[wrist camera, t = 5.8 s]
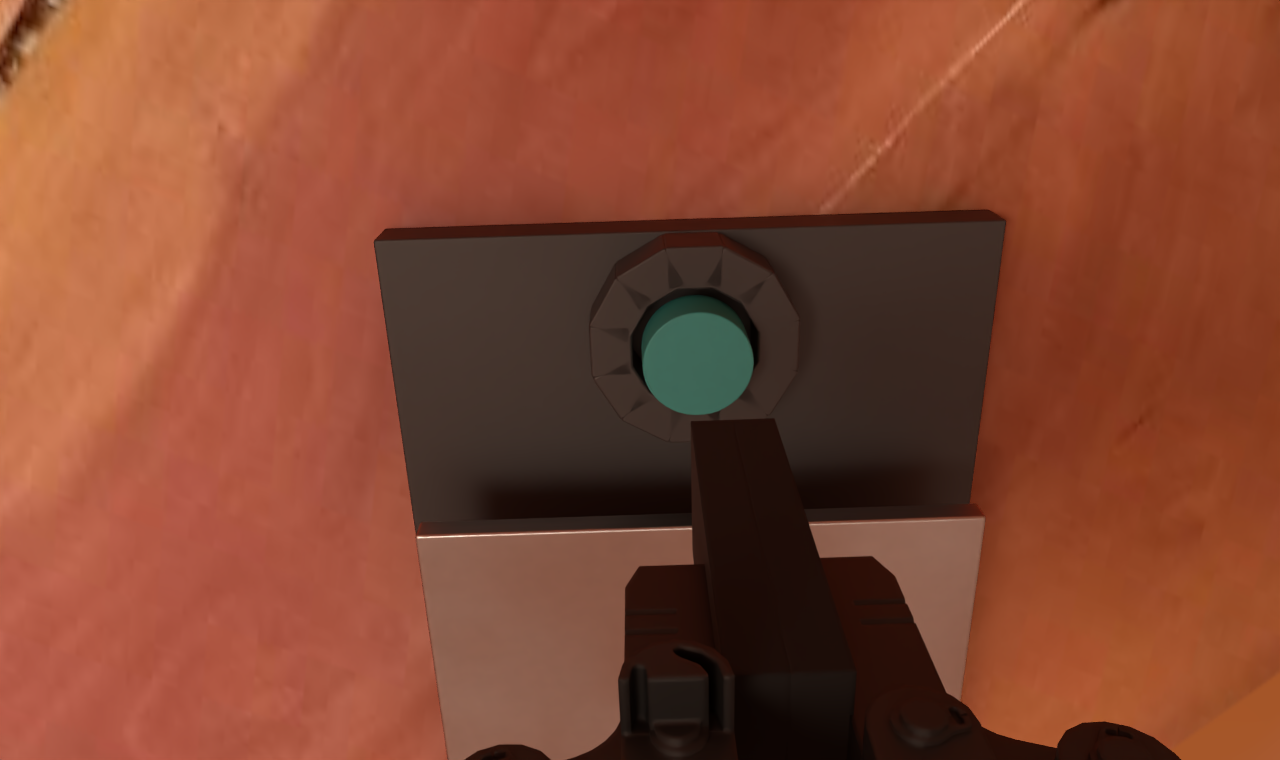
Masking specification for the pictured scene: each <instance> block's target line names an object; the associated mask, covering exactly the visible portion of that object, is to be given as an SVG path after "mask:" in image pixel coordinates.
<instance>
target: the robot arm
mask: <svg viewBox="0 0 1280 760" xmlns="http://www.w3.org/2000/svg"><path fill="white" fill-rule="evenodd" d="M691 488H692V551H693V560H694V564H689V565H660V566H639V567H638V569H637V570H636V572H635V573H634V575H633V576H632V578H631V579H630V581H629V582H628V584H627V585H626V587H625V643H624V663H623V664H622V667H621V671H620V674H619V677H618V691H619V708H620V722H619V724H618V726H617V728H616V730H615V731H614V732H613V733H612V734H611V735H610V736H609V737H608V739H607V740H606V741H604V742H603V743H601V744H600V745H599V746H597V747H596V748H594V749H593V750H591V751H588V752H586V753H584V754H581V755H579V756H576V757H573V758H570V759H567V760H1181V759H1180V758H1179V757H1178V756H1177V755H1176V754H1175V753H1174V752H1172V751H1171V750H1170V749H1168V748H1167V747H1166V746H1164V745H1163V744H1162V743H1160V742H1159V741H1158V740H1156V739H1155V738H1154V737H1151V736H1149V735H1147V734H1145V733H1142V732H1140V731H1138V730H1136V729H1133V728H1131V727H1129V726H1124V725H1119V724H1114V723H1109V722H1090V723H1081V724H1079V725H1077V726H1075V727H1073V728H1071V729H1069V730H1067V731H1066V732H1065V733H1064V735H1063V736H1062V738H1061V740H1060V741H1059V743H1058V746H1057V748H1053V747H1048V746H1044V745H1039V744H1034V743H1029V742H1025V741H1020V740H1015V739H1012V738H1009V737H1005V736H1002V735H998V734H996V733H994V732H991V731H989V730H987V729H985V728H983V727H982V726H981V724H980V722H979V721H978V719H977V718H976V717H975V715H974V714H973V713H972V711H971V710H970V709H969V707H967V706H966V705H965V704H963V703H962V702H960V701H959V700H957V699H956V698H955V697H953V696H952V695H950V694H947V693H946V691H945V688H944V686H943V684H942V682H941V679H940V677H939V675H938V672H937V670H936V668H935V666H934V663H933V661H932V659H931V657H930V654H929V652H928V650H927V648H926V645H925V643H924V641H923V638H922V636H921V634H920V632H919V629H918V627H917V625H916V623H914V618H913V616H912V613H911V611H910V609H909V607H908V604H906V603H905V598H904V595H903V593H902V591H901V589H900V586H899V584H898V582H897V579H896V577H895V575H893V574H892V573H891V572H890V571H889V570H888V569H887V568H885V567H884V566H883V565H882V564H881V563H880V562H879V561H877V560H876V559H875V558H874V557H873V556H856V557H827V558H820V557H819V553H818V550H817V547H816V544H815V541H814V538H813V535H812V532H811V529H810V526H809V523H808V520H807V517H806V513H805V510H804V507H803V504H802V501H801V498H800V495H799V492H798V489H797V486H796V483H795V480H794V477H793V473H792V470H791V467H790V464H789V461H788V458H787V455H786V452H785V449H784V446H783V443H782V440H781V437H780V433H779V430H778V427H777V424H776V421H775V418H766V419H738V420H709V421H691ZM464 760H551V759H550V758H548V757H547V756H546V755H545V754H544V753H543V752H542V751H540V750H537V749H534V748H531V747H528V746H525V745H522V744H499V745H496V746H493V747H489V748H486V749H482V750H479V751H477V752H475V753H474V754H472V755H471V756H469V757H468V758H466V759H464Z"/></svg>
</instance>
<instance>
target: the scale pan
mask: <svg viewBox="0 0 1280 760" xmlns="http://www.w3.org/2000/svg"><path fill="white" fill-rule="evenodd" d="M804 510H805V513H806V517H807V520H808V523H809V526H810V529H811V532H812V535H813V538H814V541H815V544H816V547H817V550H818V553H819V557H820V558H827V557H856V556H873V557H874V558H875V559H876V560H877V561H879V562H880V563H881V564H882V565H883V566H884V567H885V568H887V569H888V570H889V571H890V572H891V573H892V574H893V575H895V577H896V579H897V582H898V584H899V586H900V589H901V591H902V593H903V595H904V598H905V603H906V604H908V607H909V609H910V611H911V613H912V616H913V618H914V623H916V625H917V627H918V629H919V632H920V634H921V636H922V638H923V641H924V643H925V645H926V648H927V650H928V652H929V654H930V657H931V659H932V661H933V663H934V666H935V668H936V670H937V672H938V675H939V677H940V679H941V682H942V684H943V686H944V688H945V691H946V693H947V694H950V695H952V696H953V697H955V698H956V699H957V700H959V701H960V700H961V693H962V686H963V679H964V671H965V664H966V657H967V650H968V642H969V635H970V628H971V621H972V613H973V606H974V599H975V592H976V584H977V577H978V570H979V563H980V556H981V548H982V541H983V534H984V527H985V519H986V518H985V515H984V514H983V512H982V511H981V509H980V508H979V507H978V505H977V504H946V505H916V506H886V507H857V508H827V509H804ZM415 538H416V545H417V552H418V558H419V565H420V572H421V579H422V586H423V593H424V600H425V607H426V614H427V621H428V628H429V634H430V641H431V648H432V655H433V662H434V669H435V676H436V683H437V690H438V697H439V704H440V710H441V717H442V724H443V731H444V738H445V745H446V752H447V759H448V760H464V759H466V758H468V757H469V756H471V755H472V754H474V753H475V752H477V751H479V750H482V749H486V748H489V747H493V746H496V745H499V744H522V745H525V746H528V747H531V748H534V749H537V750H540V751H542V752H543V753H544V754H545V755H546V756H547V757H548V758H550V759H551V760H567V759H570V758H573V757H576V756H579V755H581V754H584V753H586V752H588V751H591V750H593V749H594V748H596V747H597V746H599V745H600V744H601V743H603V742H604V741H606V740H607V739H608V737H609V736H610V735H611V734H612V733H613V732H614V731H615V730H616V728H617V726H618V724H619V722H620V708H619V691H618V677H619V674H620V671H621V667H622V664H623V663H624V643H625V587H626V585H627V584H628V582H629V581H630V579H631V578H632V576H633V575H634V573H635V572H636V570H637V569H638V567H639V566H660V565H689V564H694V560H693V551H692V513H678V514H648V515H618V516H588V517H558V518H529V519H499V520H469V521H439V522H422V523H420V526H419V529H418V531H417V534H416V537H415Z"/></svg>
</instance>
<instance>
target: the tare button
mask: <svg viewBox="0 0 1280 760" xmlns="http://www.w3.org/2000/svg"><path fill="white" fill-rule="evenodd" d="M641 348H642V366H643V374H644V378H645V381H646V384H647V386H648V388H649V390H650V391H651V393H652V394H653V395H654V397H655V398H656V399H657V400H658V401H659V402H661V403H662V404H663V405H665V406H666V407H668V408H670V409H672V410H674V411H676V412H679V413H683V414H689V415H705V414H710V413H714V412H717V411H720V410H722V409H724V408H726V407H727V406H729V405H730V404H732V403H733V402H734V401H736V400H737V399H738V398H739V397H740V396H741V395H742V393H743V392H744V391H745V389H746V388H747V386H748V384H749V382H750V379H751V377H752V373H753V367H754V356H753V351H752V347H751V344H750V341H749V339H748V336H747V333H746V330H745V328H744V325H743V323H742V321H741V319H740V318H739V316H738V315H737V313H736V312H735V311H734V310H733V309H732V308H731V307H729V306H728V305H727V304H725V303H724V302H722V301H720V300H718V299H716V298H713V297H709V296H704V295H688V296H683V297H679V298H676V299H673V300H671V301H669V302H668V303H666V304H664V305H663V306H662V307H660V308H659V309H658V310H657V311H656V312H655V313H654V314H653V315H652V317H651V318H650V320H649V321H648V323H647V325H646V327H645V329H644V332H643V337H642V347H641Z"/></svg>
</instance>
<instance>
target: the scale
mask: <svg viewBox="0 0 1280 760" xmlns="http://www.w3.org/2000/svg"><path fill="white" fill-rule="evenodd" d="M1005 225H1006V220H1004V219H1002V218H1001V217H999V216H998V215H996V214H994V213H993V212H991V211H989V210H966V211H935V212H904V213H872V214H841V215H809V216H778V217H746V218H715V219H683V220H652V221H621V222H589V223H558V224H526V225H495V226H463V227H432V228H400V229H385V230H384V231H383V232H382V233H381V234H380V235H379V236H378V237H377V238H376V239H375V240H374V247H375V254H376V261H377V268H378V275H379V282H380V289H381V296H382V303H383V310H384V317H385V324H386V331H387V337H388V344H389V351H390V358H391V365H392V372H393V379H394V386H395V393H396V400H397V407H398V414H399V421H400V428H401V434H402V441H403V448H404V455H405V462H406V469H407V476H408V483H409V490H410V497H411V504H412V511H413V518H414V525H415V531H416V534H417V531H418V529H419V526H420V523H422V522H439V521H469V520H499V519H529V518H558V517H588V516H618V515H648V514H678V513H692V488H691V421H709V420H738V419H766V418H775V421H776V424H777V427H778V430H779V433H780V437H781V440H782V443H783V446H784V449H785V452H786V455H787V458H788V461H789V464H790V467H791V470H792V473H793V477H794V480H795V483H796V486H797V489H798V492H799V495H800V498H801V501H802V504H803V507H804V509H827V508H857V507H886V506H916V505H946V504H970V496H971V488H972V481H973V473H974V465H975V457H976V450H977V442H978V434H979V427H980V419H981V411H982V403H983V396H984V388H985V380H986V372H987V365H988V357H989V349H990V341H991V334H992V326H993V318H994V311H995V303H996V295H997V287H998V280H999V272H1000V264H1001V256H1002V249H1003V241H1004V233H1005ZM688 295H704V296H709V297H713V298H716V299H718V300H720V301H722V302H724V303H725V304H727V305H728V306H729V307H731V308H732V309H733V310H734V311H735V312H736V313H737V315H738V316H739V318H740V319H741V321H742V323H743V325H744V328H745V330H746V333H747V336H748V339H749V341H750V344H751V347H752V351H753V356H754V367H753V373H752V377H751V379H750V382H749V384H748V386H747V388H746V389H745V391H744V392H743V393H742V395H741V396H740V397H739V398H738V399H737V400H736V401H734V402H733V403H732V404H730V405H729V406H727V407H726V408H724V409H722V410H720V411H717V412H714V413H710V414H705V415H689V414H683V413H679V412H676V411H674V410H672V409H670V408H668V407H666V406H665V405H663V404H662V403H661V402H659V401H658V400H657V399H656V398H655V397H654V395H653V394H652V393H651V391H650V390H649V388H648V386H647V384H646V381H645V378H644V374H643V366H642V348H641V347H642V337H643V332H644V329H645V327H646V325H647V323H648V321H649V320H650V318H651V317H652V315H653V314H654V313H655V312H656V311H657V310H658V309H659V308H660V307H662V306H663V305H664V304H666V303H668V302H669V301H671V300H673V299H676V298H679V297H683V296H688Z"/></svg>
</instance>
